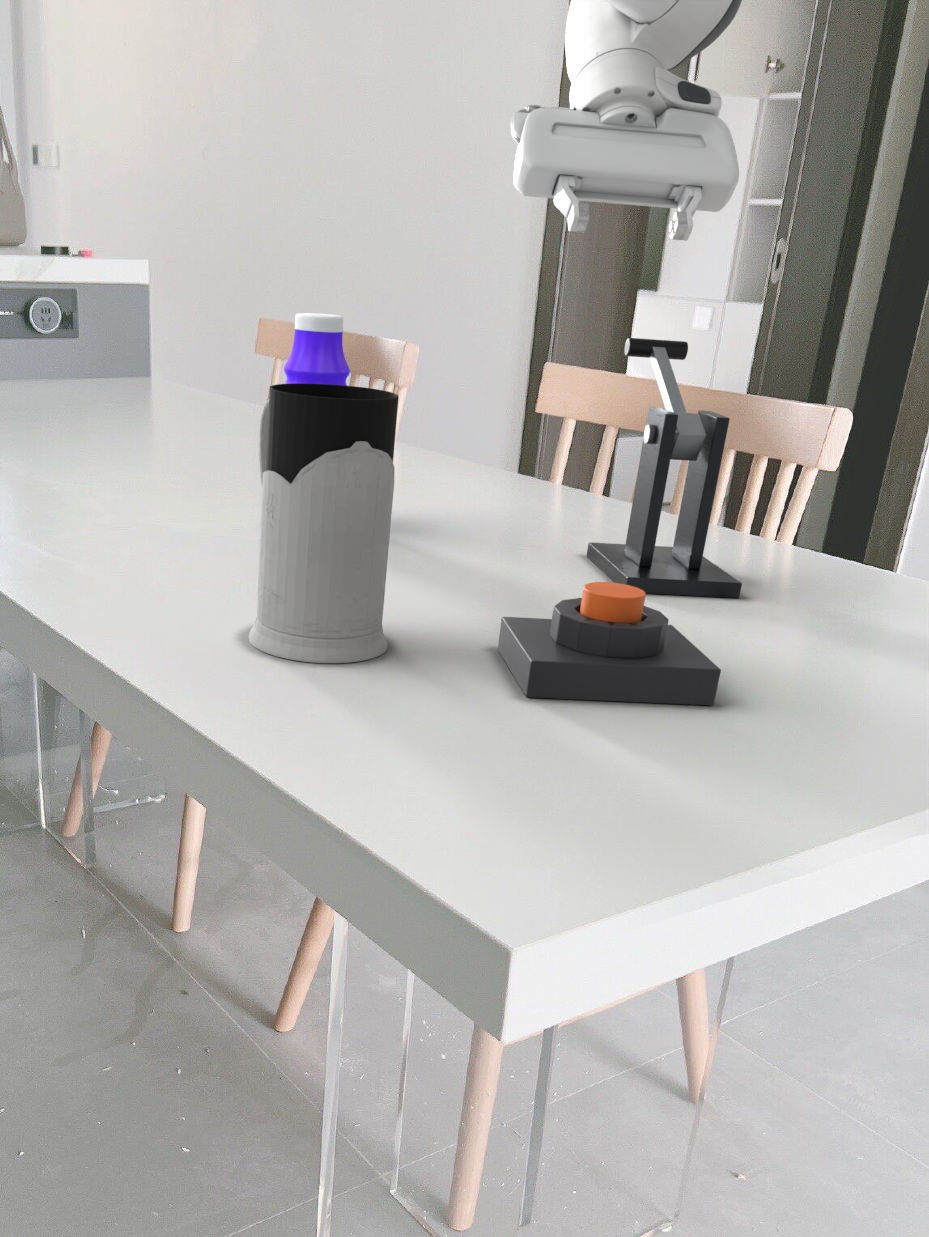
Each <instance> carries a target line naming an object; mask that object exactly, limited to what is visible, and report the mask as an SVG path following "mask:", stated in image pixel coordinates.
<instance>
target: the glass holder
mask: <svg viewBox="0 0 929 1237" xmlns="http://www.w3.org/2000/svg"><path fill="white" fill-rule="evenodd" d="M268 389H269V392H268V399H267V401H266V402H265V404H264V406H263V408H262V413H261V415H260V416H261V417H260V423H259V425H260V426H259V442H258V443H259V445H258V446H259V449H258V450H259V451H258V453H259V454H258V457H259V474H260V484H261V504H260V505H261V506H260V507H261V508H260V513H261V514H260V531H259V555H258V575H257V576H258V577H257V601H256V603H257V604H256V616H255V619H254V620H255V621H254V624H253V626H252V627H251V629H250V631H249V633H248V641H249V644H251V645H252V647H254V648H256V650H259V651H261V652H263V653H265V654H268V655H271V656H273V657H278V658H283V659H287V660H291V661H297V662H305V663H313V664H314V663H317V664H343V663H344V664H347V663H356V662H357V663H358V662H363V661H367V660H371V659H375V658H377V657H379V656H381V655H384V653H385V652H386V651H387V649H388V641H387V639H386V636H385V633H384V627H383V616H384V605H385V595H386V594H385V592H386V582H387V571H388V559H389V558H388V557H389V550H390V549H389V548H390V546H389V545H390V537H391V536H390V535H391V524H392V513H393V503H394V502H393V501H394V491H395V464H394V457H395V443H396V434H397V433H396V431H397V421H398V420H397V419H398V410H399V409H398V408H399V394H397V393H395V392H391V391H387V390H383V389H377V388H370V387H365V386H354V385H347V386H345V385H331V384H309V383H292V384H285V383H278V384H273V385H270V386H269V388H268Z"/></svg>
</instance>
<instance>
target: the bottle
mask: <svg viewBox="0 0 929 1237" xmlns="http://www.w3.org/2000/svg"><path fill="white" fill-rule="evenodd" d="M294 320H295V322H294V335H293V336H294V337H293V342H292V348H291V351H290V354H289V356H288V358H287V360H286V362H285V364H284V365H283V371H284V374H285V375H286V380H285V383H284V384H292V383H309V384H331V385H345V386H348V385H347V379H348V377H349V376H350V372H351V370H350V369H351V368H350V366H349V365H348V363H347V360H346V356H345V352H344V346H343V333H344V316H342V315H339V314H331V313H322V312H321V313H318V312H299V313H295V319H294Z"/></svg>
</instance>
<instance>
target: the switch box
mask: <svg viewBox="0 0 929 1237" xmlns="http://www.w3.org/2000/svg"><path fill="white" fill-rule="evenodd" d="M581 601H582V597H577V598H569V599H561V600H560V601H559V602H558V603H555V605H554V606H553V610H552V611H553V612H552V616H551V618H539V617H538V618H537V617H519V616H517V617H516V616H515V617H514V616H502V617H501V619H500V628H499V634H498V635H499V636H498V644H497V651H498V653H499V654H500V656H501V658H502V659H503V661H504V663H505V664H506V666H507V668H508V669H509V671H510V673H511V675H512V676H513V677H514V680H515V681H516V683H517V684H518V686H519V688H520V690H521V691H522V692H523V694H524V696H525V698H533V699H554V700H555V699H556V700H560V699H561V700H576V701H577V700H579V701H600V702H601V701H602V702H604V701H605V702H621V703H622V702H623V703H624V702H626V703H643V704H644V703H646V704H667V705H669V704H670V705H671V704H672V705H690V706H691V705H693V706H714V704H715V701H716V696H717V691H718V685H719V681H720V676H721V671H722V670H721V668H720V667H718V666H717V665H716V663H714V662H713V661H712V660H711V659H710V658H709V657H708V656H706V655H705V653H703V652H702V651H701V650H700V649H699V648H698V647H697V646H695V644H694V643H693V642H691V641H690V640H689V639H688V637H687V638H686V636H685V635H683V634H682V633H681V632H680V631H679V630H678V629H677V628H676V627H675V626H673V625H672V624H669V622H670V621H669V618H668V617H666V615H665V614H663V613H662V612H661V611H660V610H657V609H655V608H652V607H648V606H646V605H644V607H643V613H642V618H641V622H634V623H622V622H609V621H604V620H598V619H593V618H589V617H587V616H584V615H581V614H580V607H581Z"/></svg>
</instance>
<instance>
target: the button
mask: <svg viewBox="0 0 929 1237" xmlns="http://www.w3.org/2000/svg"><path fill="white" fill-rule="evenodd" d="M646 595H647V594H646V593H645V592H644V591H643V590H641V589H639V588H637V587H634V586H630V585H626V584H620V583H615V582H611V581H594V582H588V583H586V584H584V585H583V589H582V596H581V598H582V601H581V607H580V614H581V615H584V616H587V617H589V618H593V619H598V620H604V621H609V622H622V623H634V622H641V618H642V613H643V607H644V606H645V602H646V601H645V600H646Z"/></svg>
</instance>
